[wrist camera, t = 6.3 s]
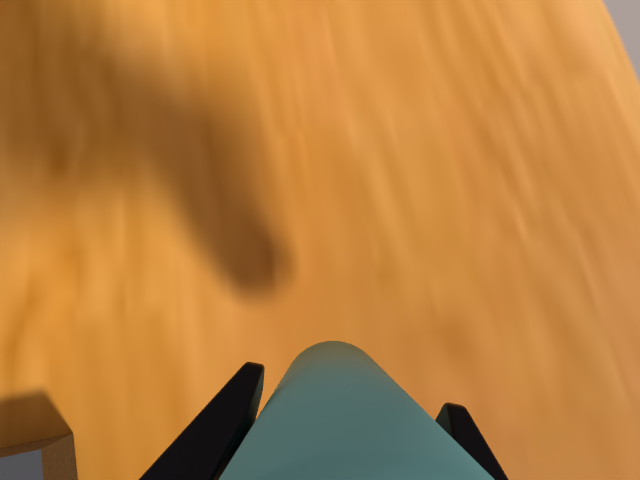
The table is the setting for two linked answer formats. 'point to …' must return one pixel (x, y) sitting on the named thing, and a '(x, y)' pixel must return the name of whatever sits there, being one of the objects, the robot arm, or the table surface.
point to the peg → (346, 427)
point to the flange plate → (40, 460)
